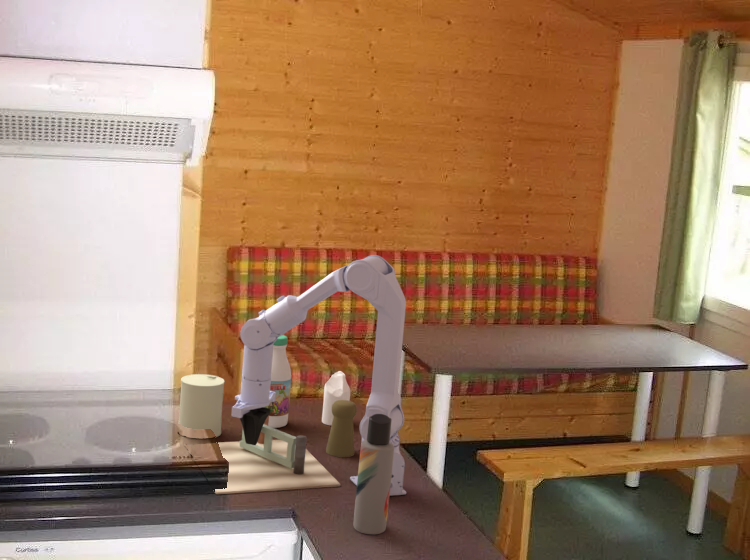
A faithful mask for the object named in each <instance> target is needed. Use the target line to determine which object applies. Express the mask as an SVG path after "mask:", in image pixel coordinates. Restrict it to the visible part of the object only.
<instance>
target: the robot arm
mask: <svg viewBox="0 0 750 560" xmlns="http://www.w3.org/2000/svg"><path fill="white" fill-rule="evenodd" d="M395 271H396V269H395V267H393V266H392V265H391V264H390V263H389V262H388V261H387V260H386V259H385V258H384V257H382V256H380V255H377V254H372V255H368V256H365V257H364V258H362V259H357V260H353V261H352V262H350V263H349V264H348V265H345V266H342V267H341V268H338V269H336V270H334V271H332V272H331V273H329V274H327V276H325V277H324V278H323V279H321V280H319V281H318V282H317V283H315V284H314V285H312V286H311V287H310V288H308V289H307V290H305V291H304V292H303V293H301V294H300V295H299V296H295V295H291V294H289V295H286V296H285V295H281V296H279V297H277V299H276V302H277V303H275V304H274V305H271V306H270V307H269V308H268V309H266V310H265V309H261V311H258V317H255V318H250V319H247V321H246V322H245V323H243V324H242V326H241V328H240V332H239V333H240V335H239V336H240V339H241V341H242V343H243V355H242V356H243V357H242V370H241V380H240V381H241V383H240V394H237V395H235V396H234V400H236V403H235V404H234V405H233V406H231V417H234V418H237V419H239V420H240V424H241V423H242V424H241V425H242V431H244V436H245V442H246V444H251V445H256V444H257V442H258V439H259V436H260V432H261V430H262V427H263V424H264V422H265V420H266V419H267V417H268V415H269V414H270V409H269V408H264V407H266V406H268V405H269V404H270V402H274V401H275V397H276V392H274V391H270V384H271V371H272V359H273V344H274V342H275V341H276V340H277V339H278V337H280V336H282V335H285V334H286V333H287V332H289V331H290V330H292V329H293V328H296V326H298V325H300V324H301V323H304V321H306V319H307V316H308V315H307V314H308V311H309V310H310V309H312V308H314V307H315V306H316V305H318V304H319V303H321V302H323V301H324V300H326V299H328V298H329V297H331V296H332V295H334V294H336V293H338V292H341V293H346V292H348V291H351V292H353V294H356V295H357V296H359V297H361V298H363V299H365V300H367V301H368V302H369V303H370V305H371V306H373V308H375V310H376V311H377V320H376V328H375V329H376V332H375V341H374V352H373V353H374V355H373V356H374V357H373V363H372V364H373V367H372V377H371V378H372V379H371V387H370V389H371V391H370V395H369V397H368V400H367V403H366V407H365V414H364V416H363V417H362V419H361V420H360V423H359V433H360V434H359V435H360V436H361V441H360V443H362V442H363V441H364V440H367V432H368V423H369V417H370V416H372V415H374V414H384V415H386V416H388V417H389V418H391V419H392V421H391V433H390V442H391V443H392V444H393V445H394V456H393V466H392V476H391V485H390V495H389V497H390V496H391V497H392V496H401V495H406V494H407V491H406V490H405V489H404V488H403V487H404V478H405V477H404V476H405V468H406V464H405V462H406V461H405V459H404V456H402V453H401V452H400V440H401V439H400V436H399V434H398V431H400V430H401V429H402V428H403V425H404V424H405V416H404V411H403V408H402V397H401V396H400V393H399V387H400V376H401V375H400V374H401V365H402V355H403V354H402V352H403V341H404V330H405V319H406V310H407V309H406V308H407V302H406V301H407V300H406V297H405V295H404V293H403V292H404V291H403V290H402V288H401V286H400V283H399V281H398V278H397V277H396V272H395ZM349 480H350V481H351V482H352V483H353V484H354V485H355V486H356V487H357V480H358V475H356V476H355V475H353V476H352V475H351V476H350V477H349Z"/></svg>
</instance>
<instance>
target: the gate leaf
mask: <svg viewBox="0 0 750 560" xmlns="http://www.w3.org/2000/svg"><path fill="white" fill-rule="evenodd" d="M240 424H241V425H242V423H241V422H240ZM261 432H262V433H265V438H264V448H263V447H260V446H258V445H251V444H246V442H245V436H244V431H243V430H242V431H241V440H239V441H240V447H242V448H244V449H246V450H249V451H251V452H253V453H256V454H258V455H260V456H263V457H265V458H268V459H270V460H272V461H275V462H277V463H279V464H282V465H284V466H286V467H289V468H294V457H295V446H296V436H295V435H291V434H289V433H287V432H284V431H282V430H279V429H277V428H272V427H269V426H267V425H264V424H263V427H262V430H261ZM273 438H275V439H276V440H282V441H285V442H287V443H288V445H287V457H284V456H282V455H279V454H277V453H275V452H272V451H271V449H272V440H273Z"/></svg>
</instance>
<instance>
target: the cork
mask: <svg viewBox="0 0 750 560" xmlns="http://www.w3.org/2000/svg"><path fill="white" fill-rule="evenodd" d="M357 409H358V408H357V405H356V403H355V402H353V401H352V400H350V401H348V400H337V401H335V402H334V403H333V405H332V414H333V416H334V417H333V421H332V426H331V425H330V426H331V427H330V431H329V434H328V439H327V443H326V448H325V453H326V454H328V455H330V456H332V457H337V458H349V457H352V456H354V455H355V435H354V434H355V433H354V432H355V431H354V430H355V429H354V428H355V427H354V417H356V414H357V412H358V411H357Z"/></svg>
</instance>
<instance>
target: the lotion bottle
mask: <svg viewBox="0 0 750 560" xmlns="http://www.w3.org/2000/svg"><path fill="white" fill-rule="evenodd" d="M391 421H392V419H391V418H389V417H388V416H386V415H384V414H374V415H372V416H370V417H369V423H368V432H367V440H364V441H363V442H362V443H361V442H360V443H361V444H360V449H359V459H358V460H359V462H358V469H357V470H358V471H357V476H358V480H357V486H356V491H355V502H354V514H353V529H354V530H355V531H356V532H358V533H361V534H366V535H379V534H383V533H384V532H385V531H386V529H387V522H388V513H389V505H390V504H389V503H390V502H389V501H390V496H389V495H390V485H391V476H392V466H393V456H394V445H393V444H392V443H391V442H390V433H391Z"/></svg>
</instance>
